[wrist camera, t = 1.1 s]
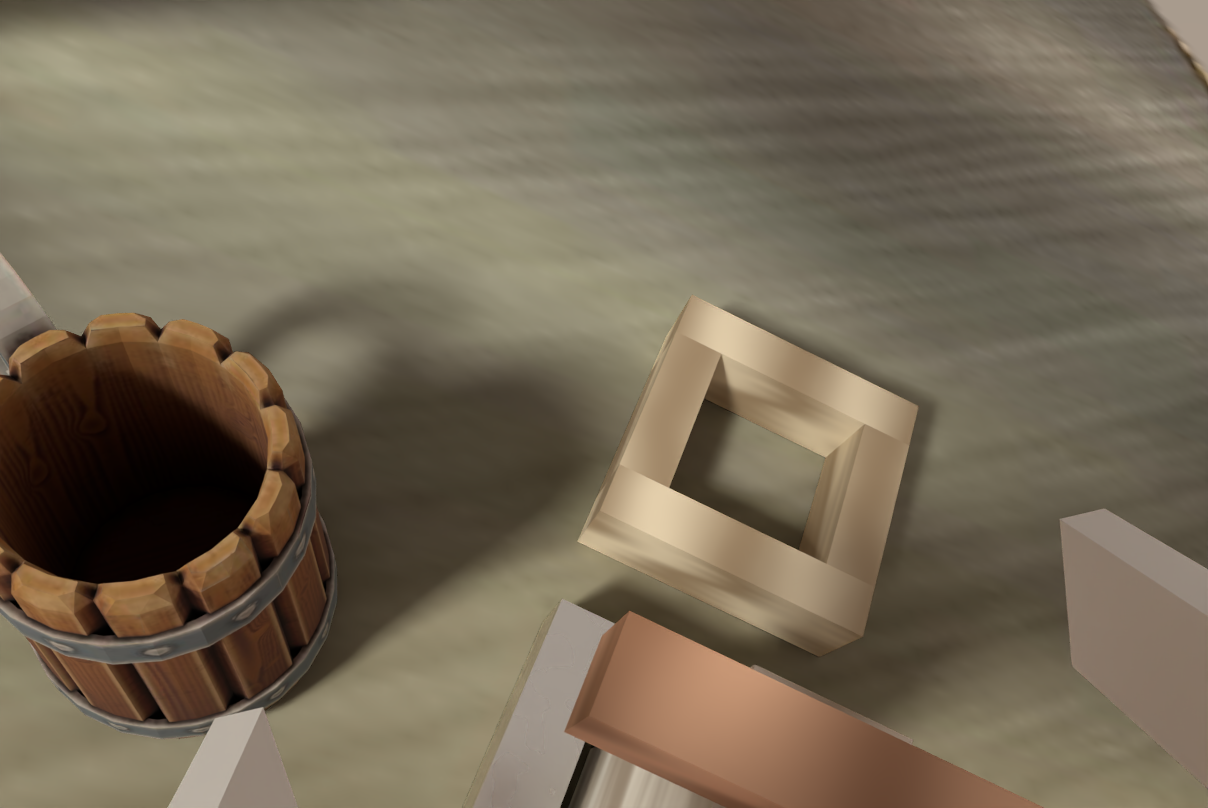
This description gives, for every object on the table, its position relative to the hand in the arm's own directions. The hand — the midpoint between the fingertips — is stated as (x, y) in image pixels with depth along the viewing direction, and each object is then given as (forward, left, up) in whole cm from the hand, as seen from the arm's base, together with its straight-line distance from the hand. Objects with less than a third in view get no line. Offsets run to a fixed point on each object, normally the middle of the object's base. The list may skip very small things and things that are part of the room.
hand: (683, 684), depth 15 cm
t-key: (+6, +1, -24) cm, 25 cm away
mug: (-15, +3, -24) cm, 29 cm away
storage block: (+6, +17, -24) cm, 30 cm away
